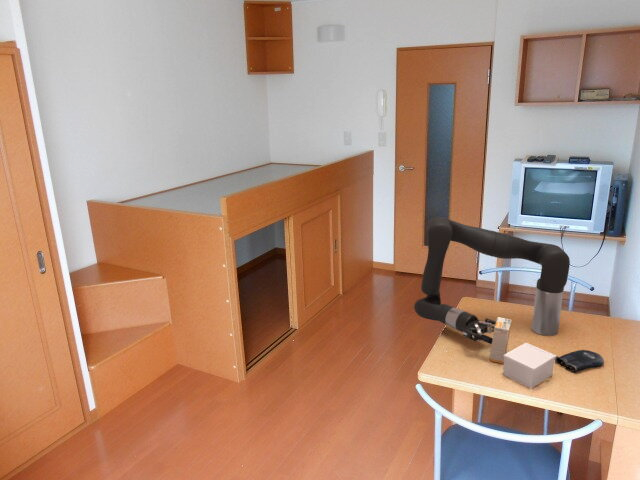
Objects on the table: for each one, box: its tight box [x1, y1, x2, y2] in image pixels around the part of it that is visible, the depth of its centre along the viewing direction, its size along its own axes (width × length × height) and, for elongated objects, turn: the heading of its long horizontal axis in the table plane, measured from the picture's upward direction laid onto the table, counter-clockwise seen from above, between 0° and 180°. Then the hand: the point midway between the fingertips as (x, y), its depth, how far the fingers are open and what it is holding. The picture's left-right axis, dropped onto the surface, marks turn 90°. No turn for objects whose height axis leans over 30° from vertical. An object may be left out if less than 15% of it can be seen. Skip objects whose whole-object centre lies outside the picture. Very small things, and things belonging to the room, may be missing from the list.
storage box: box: [502, 342, 557, 389], centre depth 159 cm, size 13×11×7 cm
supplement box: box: [489, 316, 512, 365], centre depth 169 cm, size 8×5×13 cm, turn 154°
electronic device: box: [554, 349, 605, 373], centre depth 166 cm, size 9×6×15 cm
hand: (499, 337), depth 169 cm, fingers closed on supplement box, 8 cm apart
